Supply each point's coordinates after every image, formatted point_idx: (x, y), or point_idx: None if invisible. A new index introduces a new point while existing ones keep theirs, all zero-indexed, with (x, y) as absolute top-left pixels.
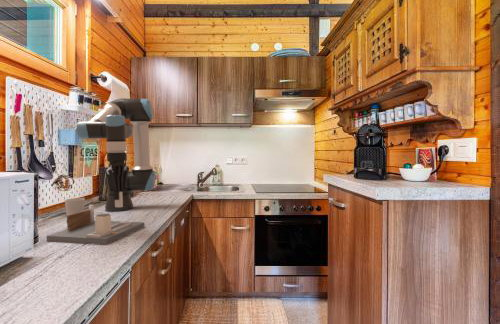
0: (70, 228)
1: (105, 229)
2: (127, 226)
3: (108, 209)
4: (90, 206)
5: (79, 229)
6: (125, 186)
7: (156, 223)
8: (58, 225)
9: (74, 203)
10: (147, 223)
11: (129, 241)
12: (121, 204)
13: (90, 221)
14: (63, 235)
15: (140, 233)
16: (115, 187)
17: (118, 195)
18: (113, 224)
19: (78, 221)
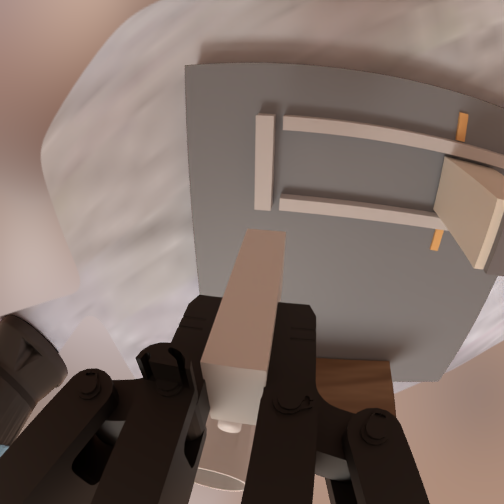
0: (385, 366)
1: (496, 174)
2: (309, 116)
3: (63, 370)
4: (241, 423)
5: (371, 340)
6: (74, 403)
7: (115, 48)
8: None
9: (240, 468)
10: (124, 100)
11: (484, 21)
12: (266, 245)
13: None
14: (454, 339)
15: (344, 10)
16: (387, 480)
17: (281, 346)
18: None
19: (339, 381)
